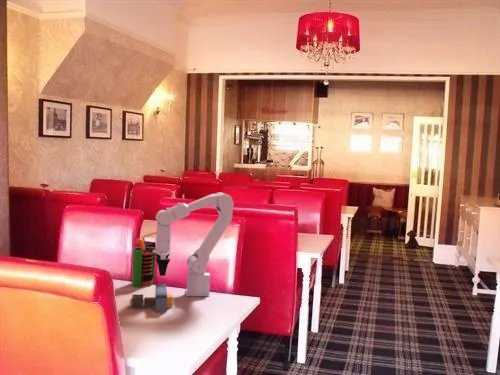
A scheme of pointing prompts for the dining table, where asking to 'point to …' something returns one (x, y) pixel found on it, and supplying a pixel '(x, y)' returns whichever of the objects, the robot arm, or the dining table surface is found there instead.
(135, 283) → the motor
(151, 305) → the plug
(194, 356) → the dining table surface
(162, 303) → the housing
